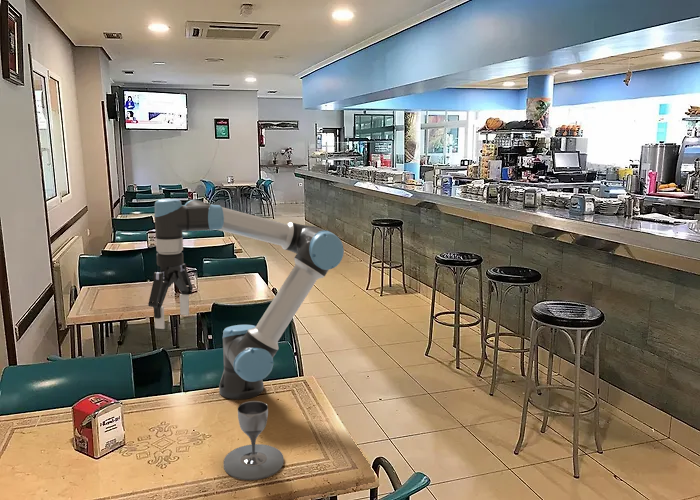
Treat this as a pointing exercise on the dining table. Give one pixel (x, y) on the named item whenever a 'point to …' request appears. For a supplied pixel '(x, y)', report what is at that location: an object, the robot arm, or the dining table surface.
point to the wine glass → (253, 428)
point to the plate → (253, 472)
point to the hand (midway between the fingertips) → (172, 321)
